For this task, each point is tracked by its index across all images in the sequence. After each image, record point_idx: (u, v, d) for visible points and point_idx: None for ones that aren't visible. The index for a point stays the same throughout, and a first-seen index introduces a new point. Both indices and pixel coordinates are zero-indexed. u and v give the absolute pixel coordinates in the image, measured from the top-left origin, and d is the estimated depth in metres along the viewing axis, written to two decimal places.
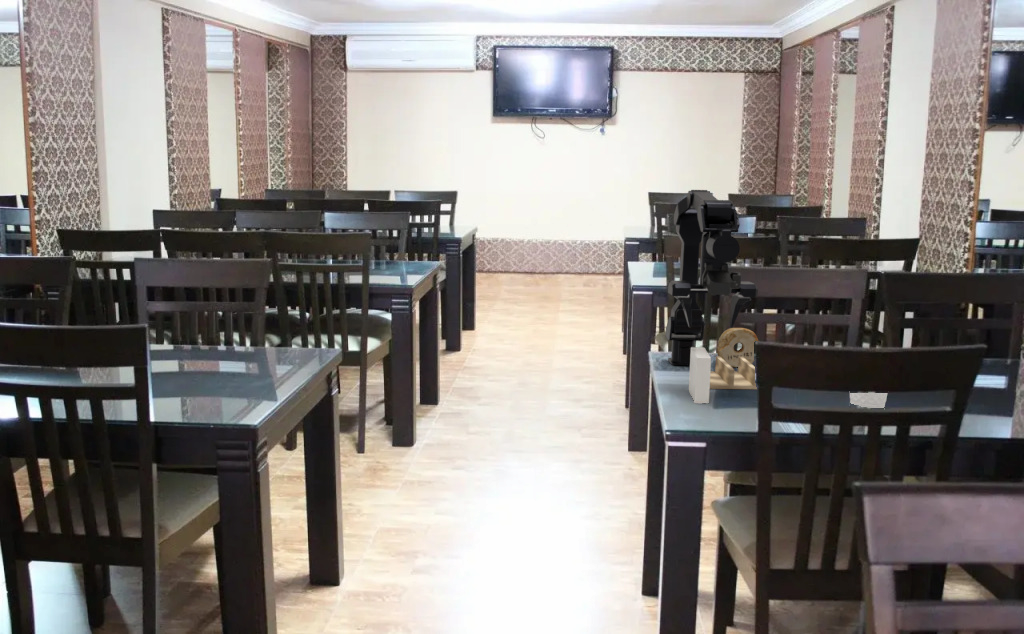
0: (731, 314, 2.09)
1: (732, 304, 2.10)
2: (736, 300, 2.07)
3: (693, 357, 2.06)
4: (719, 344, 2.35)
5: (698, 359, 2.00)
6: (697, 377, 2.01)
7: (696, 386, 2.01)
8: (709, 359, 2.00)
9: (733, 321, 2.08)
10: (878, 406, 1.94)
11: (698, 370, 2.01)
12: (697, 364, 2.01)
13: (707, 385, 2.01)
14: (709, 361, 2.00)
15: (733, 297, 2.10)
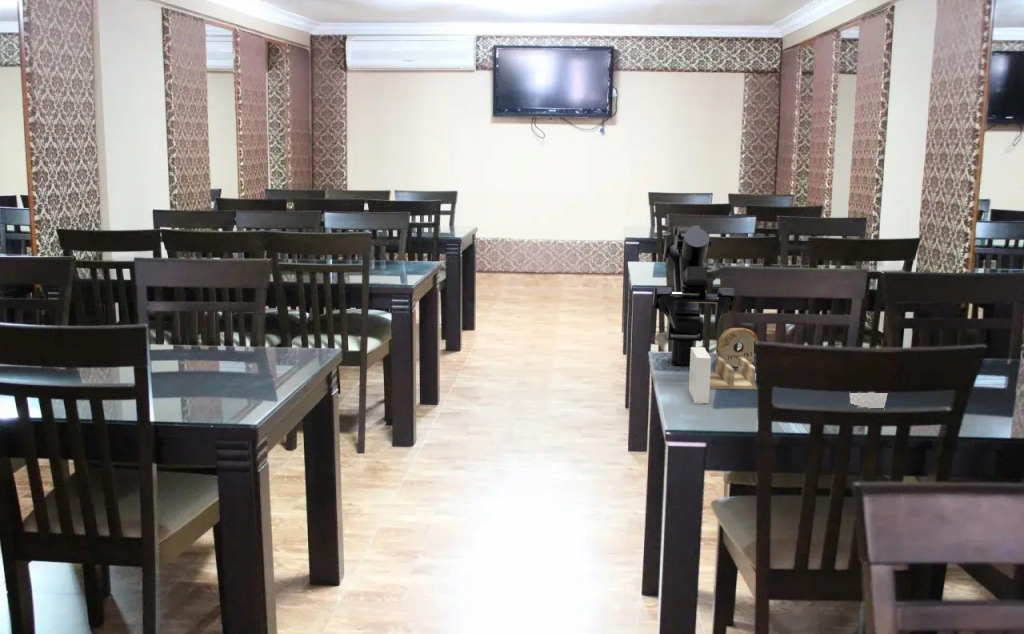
0: (715, 319, 2.16)
1: (715, 314, 2.18)
2: (717, 302, 2.17)
3: (693, 357, 2.06)
4: (719, 344, 2.35)
5: (698, 359, 2.00)
6: (697, 377, 2.01)
7: (696, 386, 2.01)
8: (709, 359, 2.00)
9: (717, 321, 2.15)
10: (878, 406, 1.94)
11: (698, 370, 2.01)
12: (697, 364, 2.01)
13: (707, 385, 2.01)
14: (709, 361, 2.00)
15: None
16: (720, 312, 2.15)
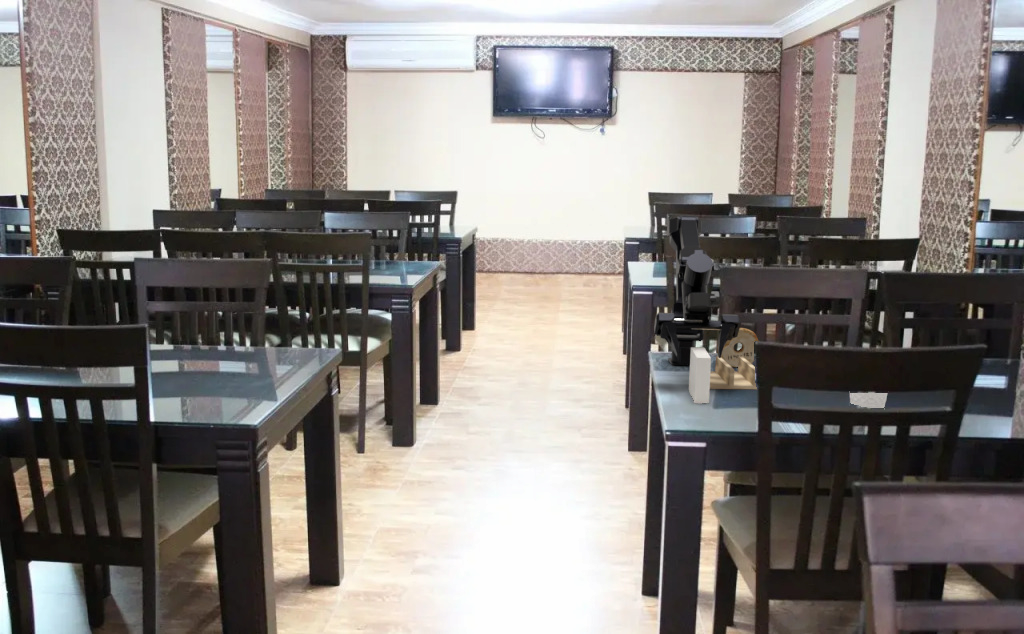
0: (718, 346, 2.10)
1: (718, 341, 2.12)
2: (721, 329, 2.11)
3: (693, 357, 2.06)
4: None
5: (698, 359, 2.00)
6: (697, 377, 2.01)
7: (696, 386, 2.01)
8: (709, 359, 2.00)
9: (721, 349, 2.08)
10: (878, 406, 1.94)
11: (698, 370, 2.01)
12: (697, 364, 2.01)
13: (707, 385, 2.01)
14: (709, 361, 2.00)
15: (719, 335, 2.13)
16: (724, 339, 2.09)
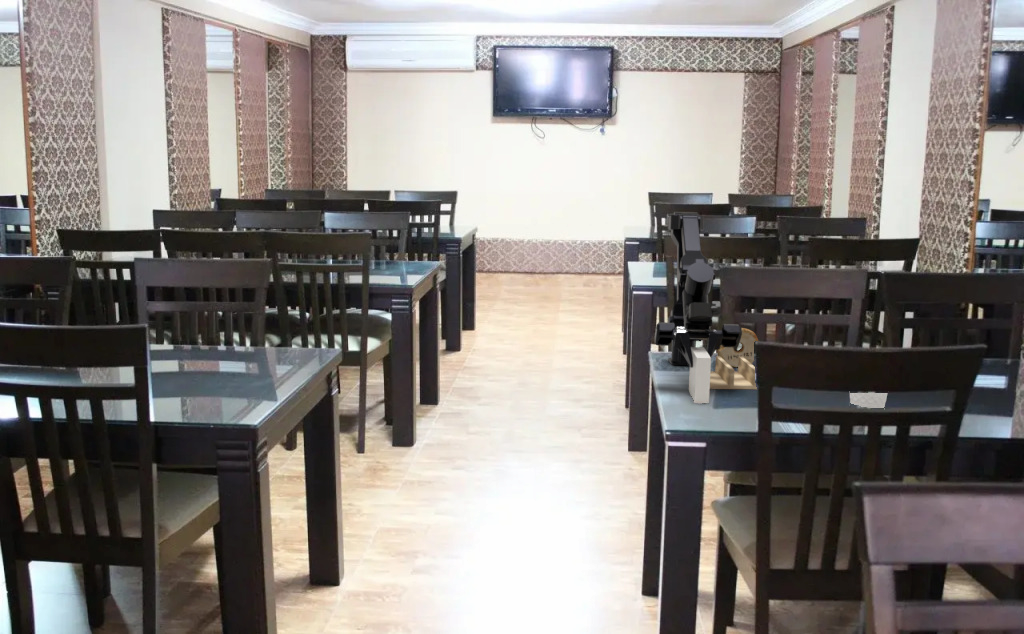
0: None
1: None
2: (708, 339, 2.09)
3: (693, 357, 2.06)
4: None
5: (698, 359, 2.00)
6: (697, 377, 2.01)
7: (696, 386, 2.01)
8: (709, 359, 2.00)
9: None
10: (878, 406, 1.94)
11: (698, 370, 2.01)
12: (697, 364, 2.01)
13: (707, 385, 2.01)
14: (709, 361, 2.00)
15: (707, 345, 2.11)
16: (711, 349, 2.08)
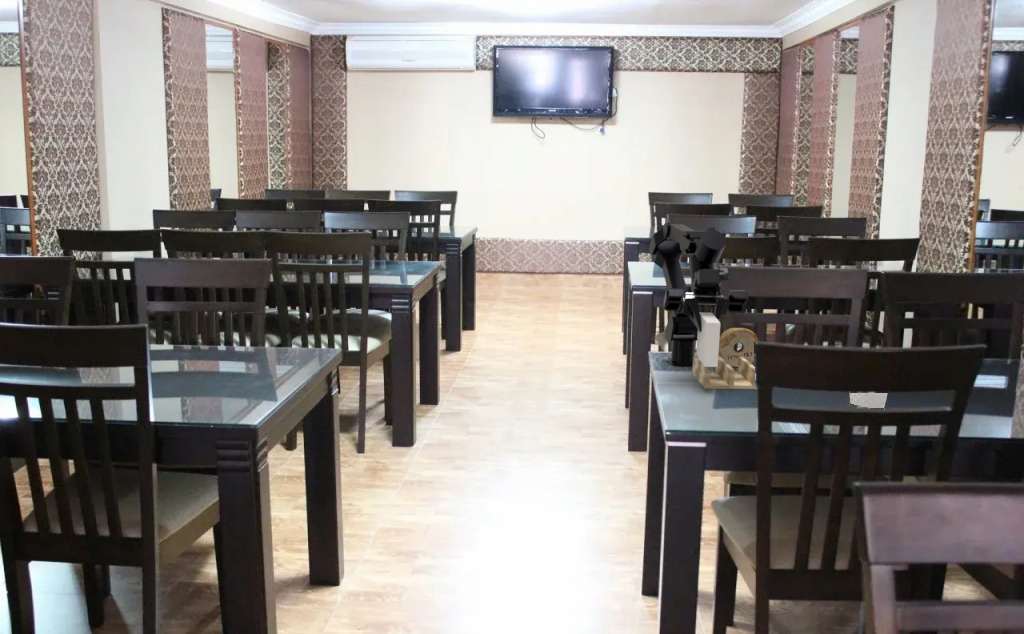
0: None
1: None
2: (716, 304, 2.16)
3: (702, 322, 2.13)
4: (719, 344, 2.35)
5: (708, 324, 2.08)
6: (707, 341, 2.09)
7: (706, 350, 2.09)
8: (718, 324, 2.08)
9: None
10: (878, 406, 1.94)
11: (707, 334, 2.08)
12: (707, 329, 2.08)
13: (716, 349, 2.09)
14: (718, 326, 2.08)
15: (714, 310, 2.19)
16: (719, 314, 2.15)
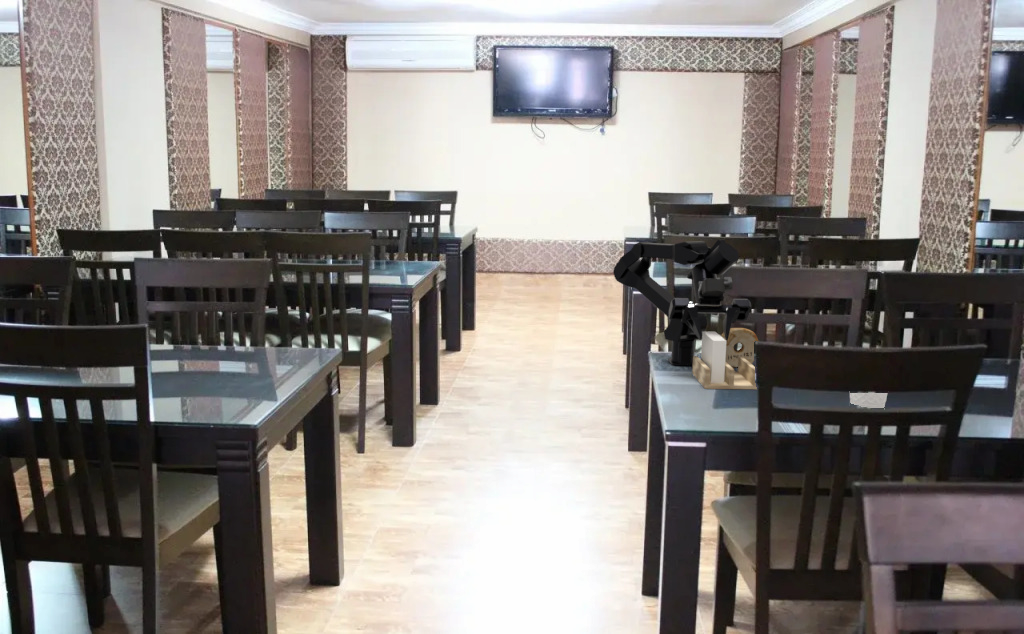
0: (725, 329, 2.22)
1: (724, 324, 2.24)
2: (726, 313, 2.23)
3: (707, 340, 2.20)
4: None
5: (714, 342, 2.14)
6: (713, 359, 2.15)
7: (712, 367, 2.15)
8: (724, 341, 2.14)
9: (728, 331, 2.20)
10: (878, 406, 1.94)
11: (714, 352, 2.15)
12: (713, 346, 2.15)
13: (723, 366, 2.15)
14: (724, 343, 2.14)
15: (724, 319, 2.25)
16: (730, 322, 2.21)
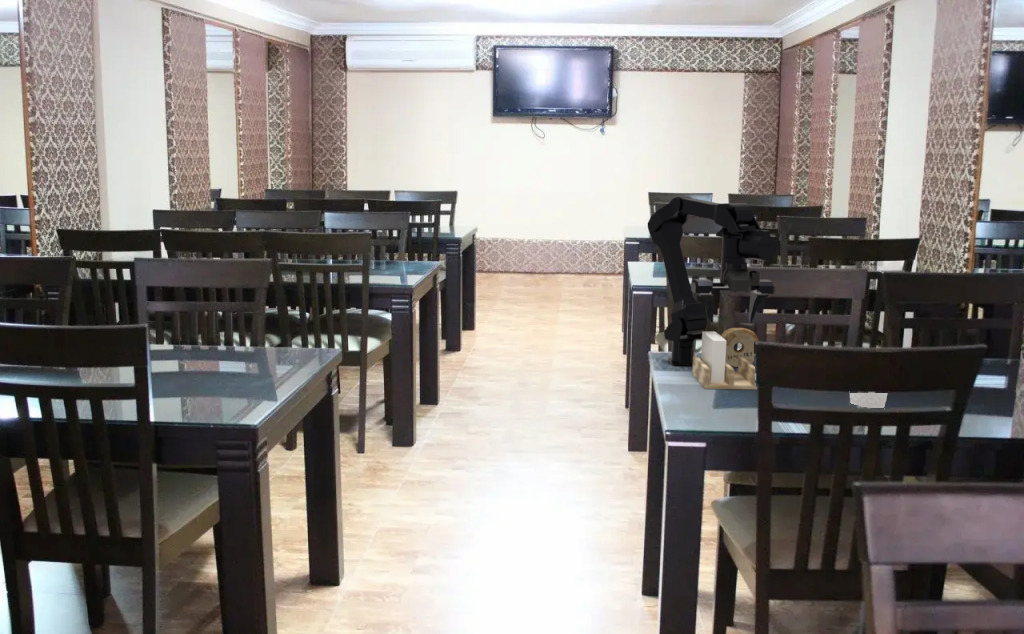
0: (750, 310, 2.24)
1: (750, 301, 2.25)
2: (755, 297, 2.22)
3: (707, 340, 2.20)
4: None
5: (714, 342, 2.14)
6: (713, 359, 2.15)
7: (712, 367, 2.15)
8: (724, 341, 2.14)
9: (752, 316, 2.23)
10: (878, 406, 1.94)
11: (714, 352, 2.15)
12: (713, 346, 2.15)
13: (723, 366, 2.15)
14: (724, 343, 2.14)
15: (752, 294, 2.24)
16: (756, 307, 2.22)
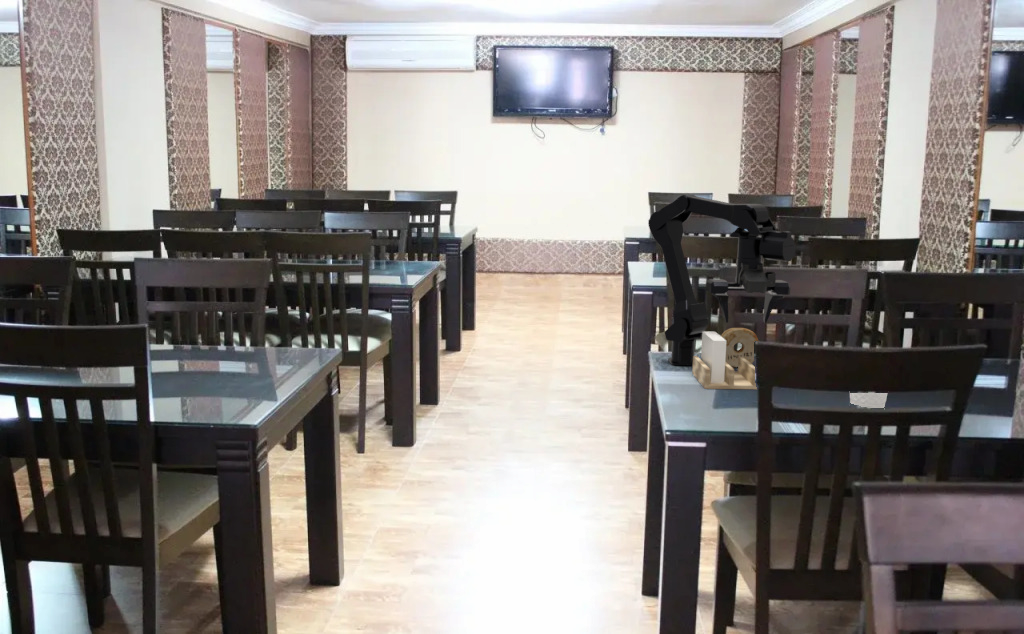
0: (765, 310, 2.25)
1: (765, 301, 2.26)
2: (770, 297, 2.23)
3: (707, 340, 2.20)
4: None
5: (714, 342, 2.14)
6: (713, 359, 2.15)
7: (712, 367, 2.15)
8: (724, 341, 2.14)
9: (767, 317, 2.24)
10: (878, 406, 1.94)
11: (714, 352, 2.15)
12: (713, 346, 2.15)
13: (723, 366, 2.15)
14: (724, 343, 2.14)
15: (767, 294, 2.25)
16: (771, 308, 2.23)
